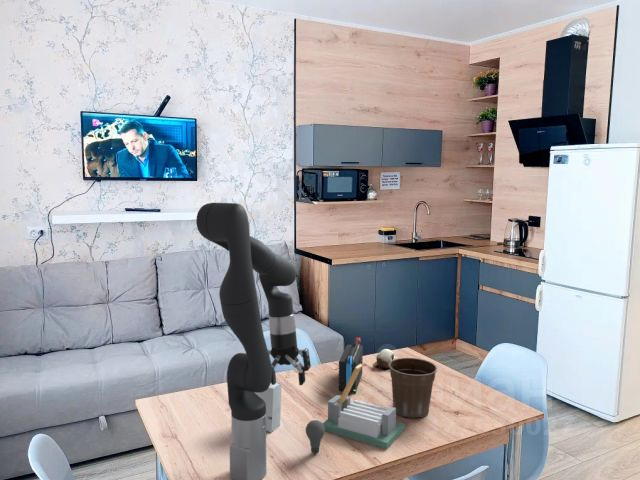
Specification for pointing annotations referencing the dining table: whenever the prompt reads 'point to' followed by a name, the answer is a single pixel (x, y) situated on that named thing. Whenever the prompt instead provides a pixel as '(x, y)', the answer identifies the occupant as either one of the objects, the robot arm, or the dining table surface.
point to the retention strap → (350, 383)
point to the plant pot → (412, 386)
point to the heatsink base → (363, 422)
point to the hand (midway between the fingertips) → (287, 384)
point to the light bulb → (315, 434)
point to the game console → (350, 365)
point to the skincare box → (272, 405)
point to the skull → (384, 360)
